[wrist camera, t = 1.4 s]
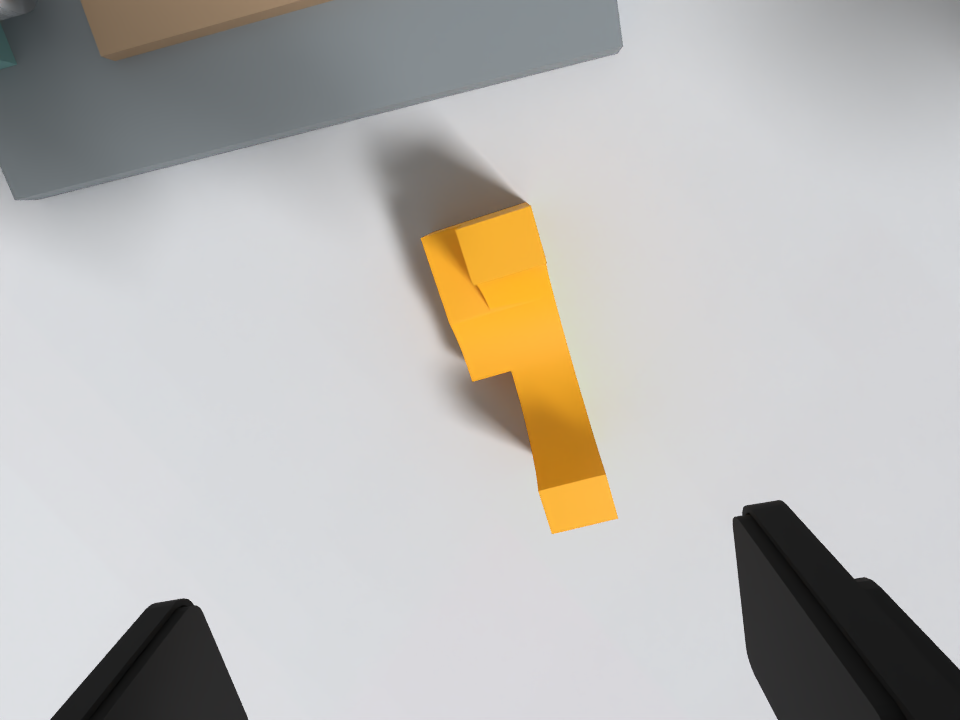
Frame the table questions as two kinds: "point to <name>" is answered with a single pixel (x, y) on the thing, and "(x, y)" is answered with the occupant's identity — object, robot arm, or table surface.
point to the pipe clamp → (523, 352)
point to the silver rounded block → (15, 8)
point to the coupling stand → (251, 73)
